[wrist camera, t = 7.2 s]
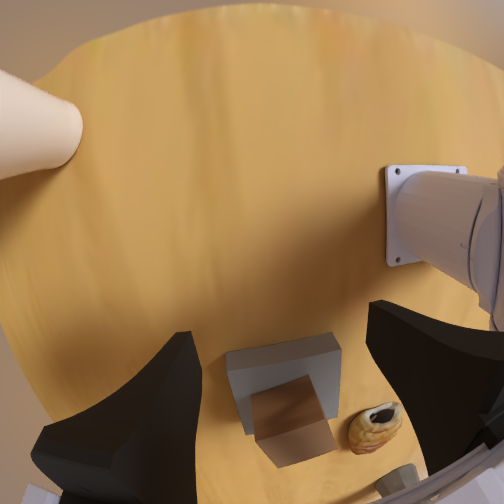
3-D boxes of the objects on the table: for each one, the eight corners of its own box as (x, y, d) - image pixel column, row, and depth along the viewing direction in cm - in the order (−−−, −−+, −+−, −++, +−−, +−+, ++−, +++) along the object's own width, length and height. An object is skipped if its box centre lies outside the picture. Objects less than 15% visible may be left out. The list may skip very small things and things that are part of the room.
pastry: (382, 437, 29) (391, 456, 26) (338, 450, 29) (345, 471, 25) (400, 395, 27) (413, 416, 23) (350, 409, 26) (361, 433, 23)
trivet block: (330, 329, 23) (341, 349, 20) (329, 397, 25) (337, 417, 23) (226, 348, 23) (225, 371, 20) (244, 413, 25) (245, 435, 22)
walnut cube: (308, 374, 20) (324, 418, 16) (322, 408, 22) (337, 448, 17) (250, 394, 21) (255, 441, 16) (271, 426, 22) (278, 468, 17)
